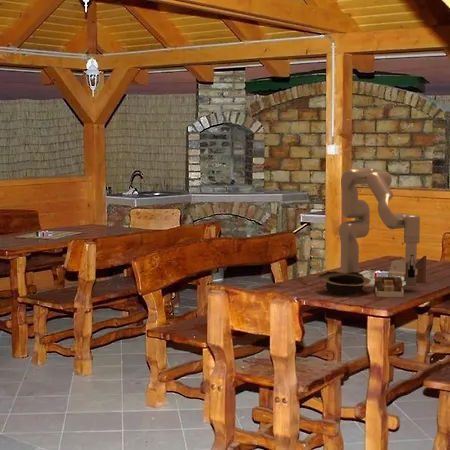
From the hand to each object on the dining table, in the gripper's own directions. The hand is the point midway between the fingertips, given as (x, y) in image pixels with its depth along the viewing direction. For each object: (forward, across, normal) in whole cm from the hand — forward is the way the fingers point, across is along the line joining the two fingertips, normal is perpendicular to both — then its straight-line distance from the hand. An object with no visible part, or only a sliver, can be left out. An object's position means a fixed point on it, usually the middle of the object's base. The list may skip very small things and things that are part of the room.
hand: (410, 276), depth 409 cm
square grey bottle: (+5, 0, 0) cm, 5 cm away
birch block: (+5, +12, -11) cm, 17 cm away
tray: (+7, +12, -11) cm, 18 cm away
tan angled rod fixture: (+7, -27, +4) cm, 28 cm away
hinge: (+8, -46, 0) cm, 46 cm away
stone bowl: (+8, +8, -32) cm, 34 cm away
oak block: (+7, +10, -11) cm, 16 cm away
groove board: (+7, 0, -11) cm, 13 cm away
